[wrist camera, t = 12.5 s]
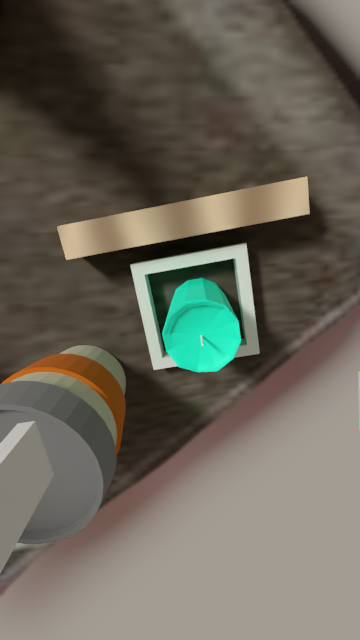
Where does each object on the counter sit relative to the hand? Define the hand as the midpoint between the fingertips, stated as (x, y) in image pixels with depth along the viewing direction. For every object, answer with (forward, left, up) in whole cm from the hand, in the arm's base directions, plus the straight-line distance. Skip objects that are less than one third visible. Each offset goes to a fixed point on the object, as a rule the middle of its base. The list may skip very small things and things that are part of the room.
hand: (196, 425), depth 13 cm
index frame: (0, 0, -22) cm, 22 cm away
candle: (+1, 0, -22) cm, 22 cm away
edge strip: (0, +9, -22) cm, 23 cm away
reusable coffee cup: (-14, -7, -22) cm, 27 cm away
